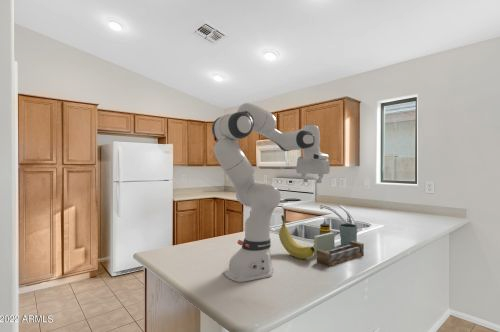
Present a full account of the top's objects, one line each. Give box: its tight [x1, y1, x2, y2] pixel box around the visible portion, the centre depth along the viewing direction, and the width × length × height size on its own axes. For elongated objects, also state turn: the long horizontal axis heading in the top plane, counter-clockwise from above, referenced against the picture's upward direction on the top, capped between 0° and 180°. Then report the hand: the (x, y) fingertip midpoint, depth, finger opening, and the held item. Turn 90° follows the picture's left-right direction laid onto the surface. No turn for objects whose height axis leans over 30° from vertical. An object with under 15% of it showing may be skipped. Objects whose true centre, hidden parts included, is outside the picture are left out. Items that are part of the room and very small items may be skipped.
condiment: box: [319, 223, 331, 235], centre depth 161 cm, size 7×8×12 cm
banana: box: [278, 214, 314, 260], centre depth 140 cm, size 23×6×20 cm, turn 39°
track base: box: [316, 241, 365, 267], centre depth 136 cm, size 28×7×6 cm, turn 125°
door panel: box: [313, 231, 335, 257], centre depth 145 cm, size 14×2×10 cm, turn 124°
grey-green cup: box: [338, 223, 358, 247], centre depth 158 cm, size 10×10×12 cm
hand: (312, 182), depth 141 cm, fingers open, 8 cm apart
